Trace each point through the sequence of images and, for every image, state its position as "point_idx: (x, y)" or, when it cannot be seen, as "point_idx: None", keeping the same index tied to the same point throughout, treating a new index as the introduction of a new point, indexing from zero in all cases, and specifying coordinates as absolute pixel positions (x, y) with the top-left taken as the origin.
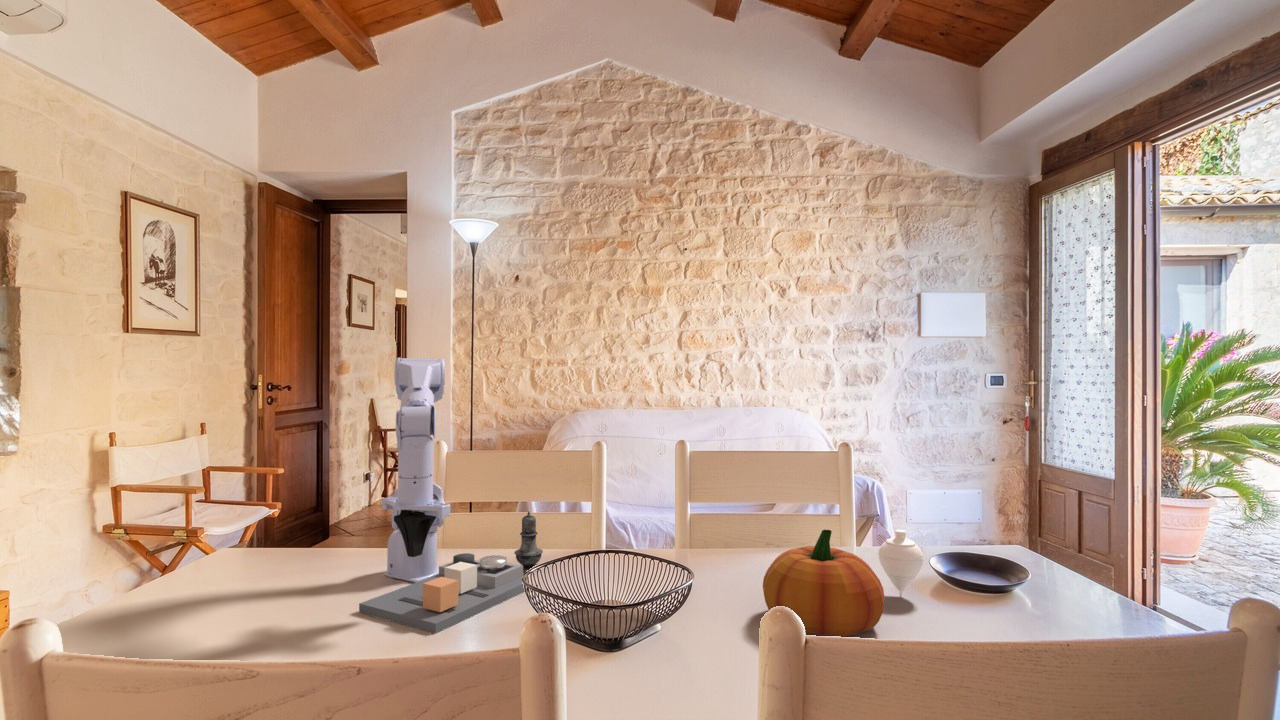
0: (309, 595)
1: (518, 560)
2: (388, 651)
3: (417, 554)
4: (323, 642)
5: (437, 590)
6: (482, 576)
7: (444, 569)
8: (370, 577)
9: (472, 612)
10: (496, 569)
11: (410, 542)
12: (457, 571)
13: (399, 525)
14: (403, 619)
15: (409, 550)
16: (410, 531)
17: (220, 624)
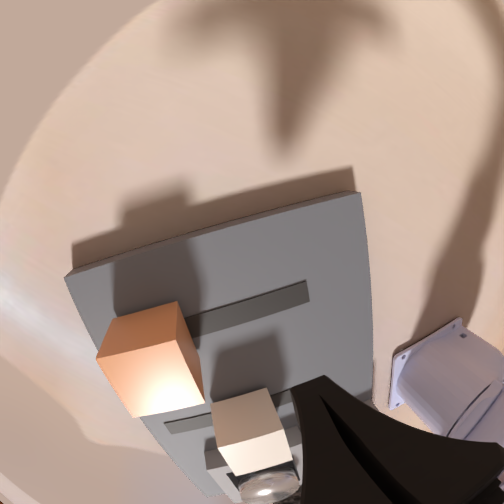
0: (477, 175)
1: (294, 496)
2: (54, 139)
3: (294, 408)
4: (225, 45)
5: (110, 348)
6: None
7: (281, 424)
8: (469, 295)
9: None
10: (240, 481)
11: (319, 431)
12: (230, 441)
13: (442, 454)
14: (180, 238)
15: (317, 397)
16: (332, 487)
17: (440, 21)
